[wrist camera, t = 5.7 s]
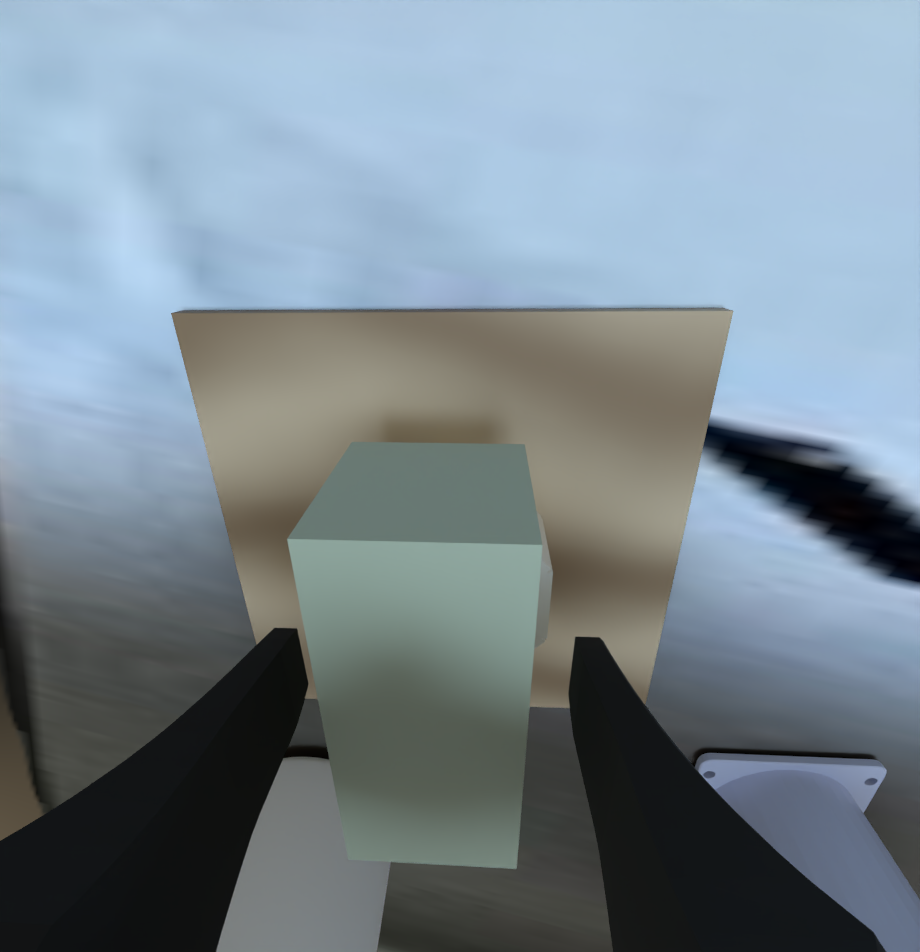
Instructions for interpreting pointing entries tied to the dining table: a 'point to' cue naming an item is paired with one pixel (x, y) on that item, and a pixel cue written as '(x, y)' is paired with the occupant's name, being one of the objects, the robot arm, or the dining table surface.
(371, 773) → the green rectangular block
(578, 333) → the mat
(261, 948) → the beverage can
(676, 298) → the dining table surface
